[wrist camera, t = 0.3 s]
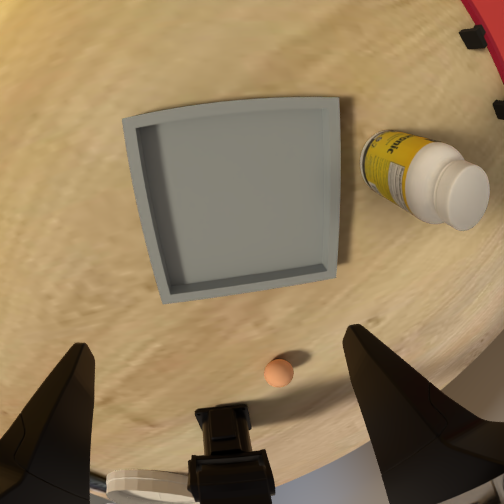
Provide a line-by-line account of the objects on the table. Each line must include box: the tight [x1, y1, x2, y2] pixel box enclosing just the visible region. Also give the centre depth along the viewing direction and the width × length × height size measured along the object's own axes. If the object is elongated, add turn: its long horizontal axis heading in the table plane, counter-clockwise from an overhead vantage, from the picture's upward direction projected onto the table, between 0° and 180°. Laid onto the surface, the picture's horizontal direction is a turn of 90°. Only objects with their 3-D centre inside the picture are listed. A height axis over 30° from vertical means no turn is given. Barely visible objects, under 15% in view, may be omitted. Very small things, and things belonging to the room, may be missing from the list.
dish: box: [106, 469, 200, 504], centre depth 44 cm, size 22×22×5 cm
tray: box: [122, 97, 341, 304], centre depth 21 cm, size 14×14×2 cm
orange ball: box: [264, 359, 294, 387], centre depth 29 cm, size 3×3×3 cm
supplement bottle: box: [360, 130, 490, 231], centre depth 17 cm, size 5×5×10 cm
